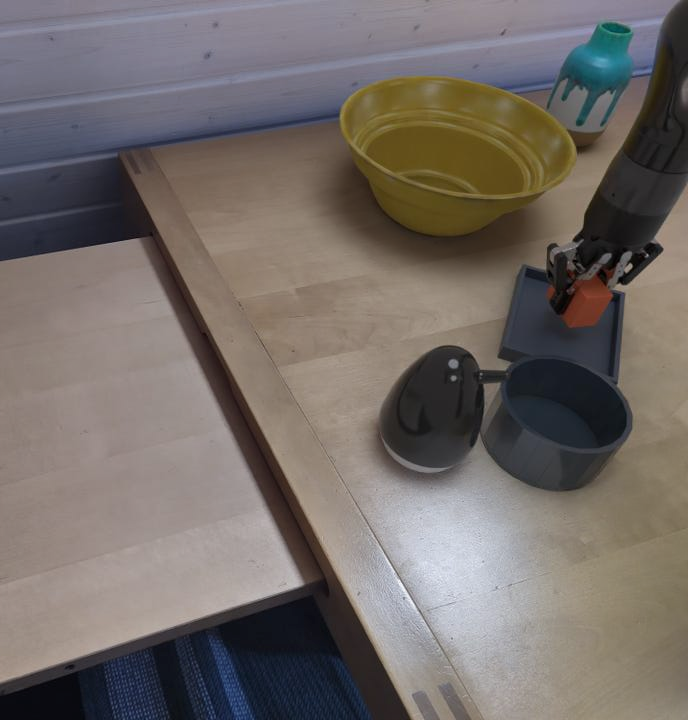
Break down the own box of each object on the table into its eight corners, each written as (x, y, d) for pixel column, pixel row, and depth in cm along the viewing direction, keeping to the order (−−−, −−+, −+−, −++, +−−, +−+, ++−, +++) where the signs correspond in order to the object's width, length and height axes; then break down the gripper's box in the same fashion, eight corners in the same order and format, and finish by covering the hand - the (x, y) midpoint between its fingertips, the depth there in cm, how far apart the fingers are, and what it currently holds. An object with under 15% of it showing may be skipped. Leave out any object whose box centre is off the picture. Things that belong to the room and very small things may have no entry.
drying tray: (517, 274, 98) (522, 263, 97) (618, 303, 95) (625, 292, 93) (497, 357, 88) (503, 346, 86) (610, 393, 84) (618, 382, 83)
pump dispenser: (463, 499, 74) (513, 409, 63) (364, 472, 76) (395, 379, 65) (470, 425, 80) (516, 331, 69) (378, 401, 82) (409, 306, 71)
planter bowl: (491, 147, 120) (519, 70, 110) (579, 272, 99) (624, 190, 89) (305, 155, 117) (316, 76, 107) (355, 285, 96) (375, 202, 86)
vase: (525, 141, 122) (570, 28, 108) (546, 117, 128) (592, 7, 114) (587, 164, 118) (642, 49, 104) (606, 137, 124) (661, 25, 109)
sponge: (570, 292, 91) (587, 262, 87) (595, 325, 87) (613, 295, 84) (545, 295, 91) (561, 265, 87) (569, 328, 87) (586, 298, 83)
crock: (565, 388, 85) (590, 348, 79) (627, 483, 76) (659, 445, 71) (461, 400, 83) (479, 360, 78) (512, 499, 74) (537, 461, 69)
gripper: (595, 218, 73) (533, 335, 85) (718, 208, 74) (639, 324, 87) (559, 176, 77) (505, 293, 90) (675, 167, 79) (607, 283, 92)
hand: (571, 308), depth 89 cm, fingers closed on sponge, 3 cm apart
